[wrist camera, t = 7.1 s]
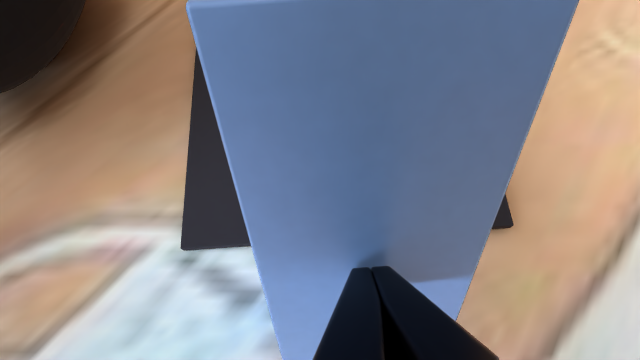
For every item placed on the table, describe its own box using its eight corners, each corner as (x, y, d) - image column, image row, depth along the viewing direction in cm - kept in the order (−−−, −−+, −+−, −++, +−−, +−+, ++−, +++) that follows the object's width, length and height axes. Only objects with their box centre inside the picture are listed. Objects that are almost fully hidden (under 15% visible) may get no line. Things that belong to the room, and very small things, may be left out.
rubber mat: (510, 227, 17) (514, 225, 16) (183, 250, 17) (179, 248, 16) (440, -35, 23) (442, -41, 22) (203, -19, 23) (201, -25, 22)
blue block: (438, 370, 13) (592, -25, 5) (287, 381, 13) (182, 4, 5) (408, 258, 16) (469, -87, 8) (289, 266, 16) (228, -71, 8)
